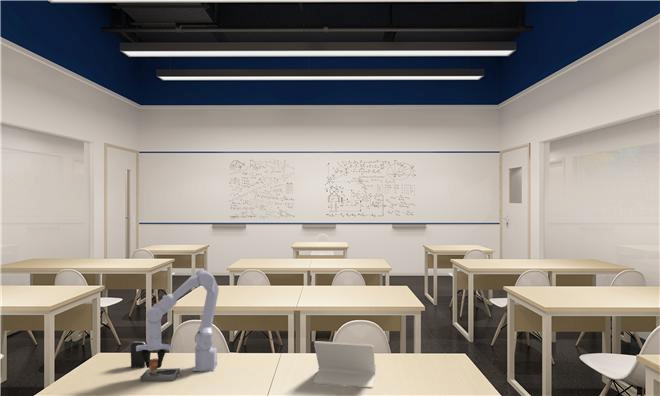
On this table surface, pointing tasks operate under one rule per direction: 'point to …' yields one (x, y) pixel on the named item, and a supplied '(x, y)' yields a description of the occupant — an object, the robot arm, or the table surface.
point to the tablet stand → (345, 364)
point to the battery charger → (137, 355)
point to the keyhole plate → (160, 375)
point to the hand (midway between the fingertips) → (154, 367)
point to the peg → (153, 365)
